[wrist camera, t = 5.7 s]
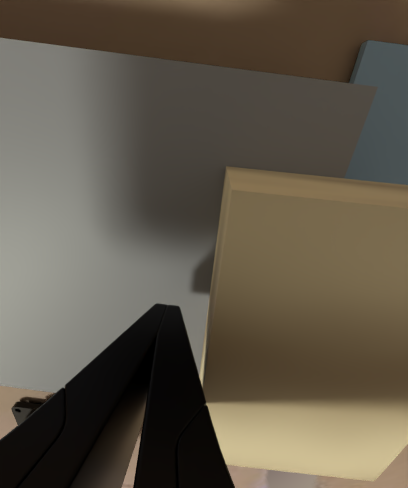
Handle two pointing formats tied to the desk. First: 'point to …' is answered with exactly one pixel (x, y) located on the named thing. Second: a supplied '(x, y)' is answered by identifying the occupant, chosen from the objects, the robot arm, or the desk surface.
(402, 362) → the maple block
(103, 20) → the desk surface
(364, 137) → the slate-blue mat
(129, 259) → the gray deck
